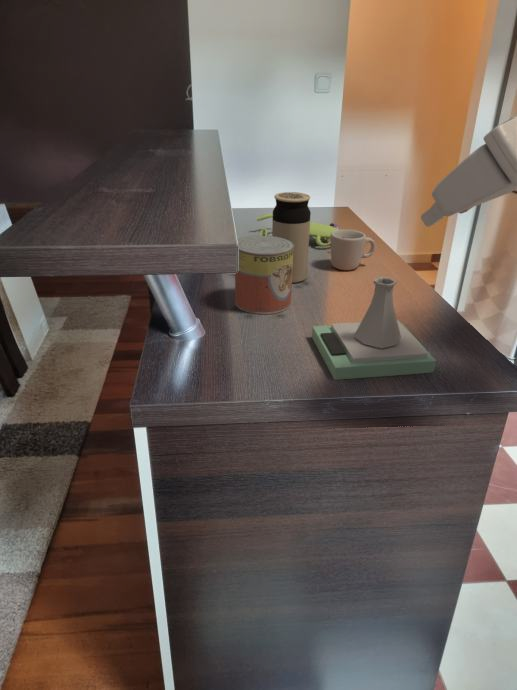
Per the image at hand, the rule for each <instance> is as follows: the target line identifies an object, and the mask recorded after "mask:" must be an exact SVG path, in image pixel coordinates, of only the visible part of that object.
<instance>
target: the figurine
mask: <svg viewBox="0 0 517 690" xmlns="http://www.w3.org/2000/svg"><path fill="white" fill-rule="evenodd" d="M271 218H272V219H271ZM267 219H271V221H272V222H273V212H272V213H267V214H264V215H261V216H257V217H256V220H257V222H261V221H263V220H267ZM336 230H340V225H339V224H335V223H334V222H333V223H332V222H331V223H330V224H325V223H319V222H313V221H310V231H309V238H312V237H313V238H315V242H316V245H318V246H319V247H327V246H329V245H331V233H332V232H333V231H336ZM258 236H268V229H267V228H266V227H264V228H261V229H260V231H259V234H258ZM325 239H326V242H325V243H324V242H323V241H325ZM321 241H322V242H321Z"/></svg>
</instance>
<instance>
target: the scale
mask: <svg viewBox="0 0 517 690" xmlns="http://www.w3.org/2000/svg"><path fill="white" fill-rule="evenodd" d="M361 322H362V321H357V322H340V323H330V325H313V326H312V329H311V339H312V340H313V343H314V344H315V347H316V348H317V350H318V352H319V355H320V356H321V358H322V359H323V362H324V364H325V365H326V367H327V369H328V371H329V373H330V375H331V376H332V378H333V380H334V381H339V380H341V381H342V380H353V379H367V378H379V377H380V378H381V377H392V376H393V377H394V376H406V375H408V376H409V375H419V374H433V373H434V372H435V369H436V364H437V363H436V362H437V360H436V358H434V357H433V356H432V354H431V353H430V352H429V351H428V350H427V349H426V348H425V347H424V345H422V343H420V341H419V340H418V338H416V337H415V336H414V334H413V333H412V332H411V331H410V330H409V329H408V327H406V325H404V324H403V322H402V321H400V320H398V319H397V323H398V327H399V330H400V334H401V339H400V340H399V342H398V343H397V345H394V346H390V347H385V348H378V347H374V346H370V345H366V344H363V343H362V342H361V341H359V340H358V339H357V338H355V337H354V335H355V333H356V331H357V329H358V327H359V325H360V323H361Z"/></svg>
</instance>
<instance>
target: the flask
mask: <svg viewBox="0 0 517 690" xmlns="http://www.w3.org/2000/svg"><path fill="white" fill-rule="evenodd" d="M373 284H374V292H373V296H372V300H371V302H370V304H369V306H368V308H367V310H366V312H365V314H364V317H363V318H362V320H361V321H360V322H361V323H360V325H359V327H358V329H357V331H356V333H355V335H354V337H355V338H357V339H358V340H359V341H361V342H362V343H363V344H366V345H370V346H374V347H378V348H385V347H390V346H394V345H397V343H398V342H399V340H400V339H401V334H400V330H399V327H398V323H397V320H398V319H397V316H396V311H395V307H394V287H395V285H396V284H397V280H396V279H393V278H391V277H386V276H379V277H376V278H375V279H374V280H373Z"/></svg>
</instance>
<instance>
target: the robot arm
mask: <svg viewBox="0 0 517 690" xmlns="http://www.w3.org/2000/svg"><path fill="white" fill-rule="evenodd" d="M483 141H484V144H482V145H480V146H479V147H478V148H476V149H475V150H474V151H472V153H470V154H469V155H468V156H467V157H466V158H464V159H463V160H462V161H461V162H460V163H459V164H458V165H457V166H455V168H453V169H452V170H451V171H450V172H449V173H448V174H447V175H445V177H443V178H442V179H441V180H440V181H439V182H438V183H437V184H436V186H435V187H434V188H433V190H432V192H431V197H432V199H433V200H434V203H433V204H432V205H431V206H430V208H429V209H427V210H426V211H424V212H423V213H422V214H421V216H420V219H421V221H422V222H423V224H424V225H425V227H428V228H429V227H432V226H434V225H435V224H437V223H438V222H440V221H442V219H444V218H445V217H451V216H454V215H456V214H460V215H461V214H464V213H467V212H469V211H470V210H472V209H473V208H474V207H477V206H479V205H482V204H485V203H488V202H490V201H492V200H495V199H497V198H500V197H502V196H505V195H508V194H510V193H513V191H515V190H517V113H515V114H514V115H513V116H511V117H510V118H509V119H508V120H506V121H504V122H501V123H500V124H499V125H497V126H495V127H494V128H493V129H491V130H490V131H489V132H488V133H487V134H485V135H484V137H483Z"/></svg>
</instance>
